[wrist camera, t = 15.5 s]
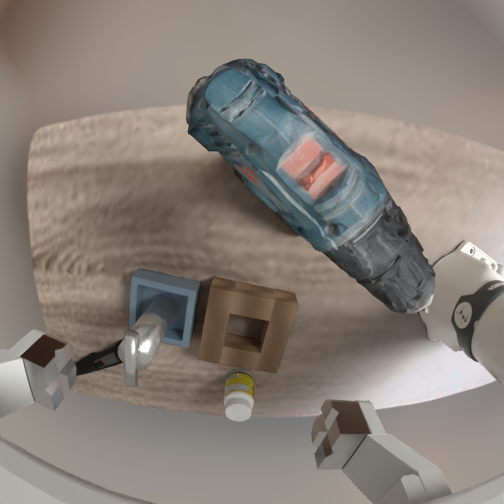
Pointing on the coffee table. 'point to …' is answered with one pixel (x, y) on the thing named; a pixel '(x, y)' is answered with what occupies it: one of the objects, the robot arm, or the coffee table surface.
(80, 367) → the electric trimmer
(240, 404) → the supplement bottle
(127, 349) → the silver elongated piece
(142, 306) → the blue square tray
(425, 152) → the coffee table surface
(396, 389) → the coffee table surface
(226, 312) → the square wooden frame
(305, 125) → the power drill
